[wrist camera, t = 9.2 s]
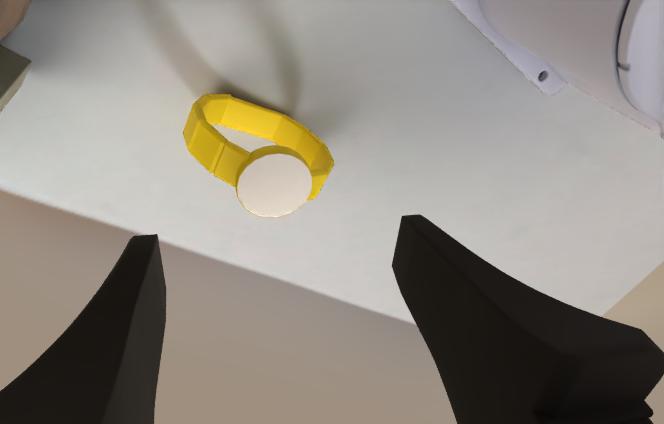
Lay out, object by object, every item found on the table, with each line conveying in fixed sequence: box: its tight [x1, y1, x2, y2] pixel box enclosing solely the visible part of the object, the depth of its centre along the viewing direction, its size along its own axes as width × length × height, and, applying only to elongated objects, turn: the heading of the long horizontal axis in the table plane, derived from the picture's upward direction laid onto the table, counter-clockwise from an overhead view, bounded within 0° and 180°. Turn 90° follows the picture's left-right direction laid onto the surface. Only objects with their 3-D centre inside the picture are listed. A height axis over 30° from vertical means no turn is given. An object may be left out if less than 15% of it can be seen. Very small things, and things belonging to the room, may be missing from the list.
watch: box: [183, 94, 334, 218], centre depth 19 cm, size 6×3×6 cm, turn 62°
